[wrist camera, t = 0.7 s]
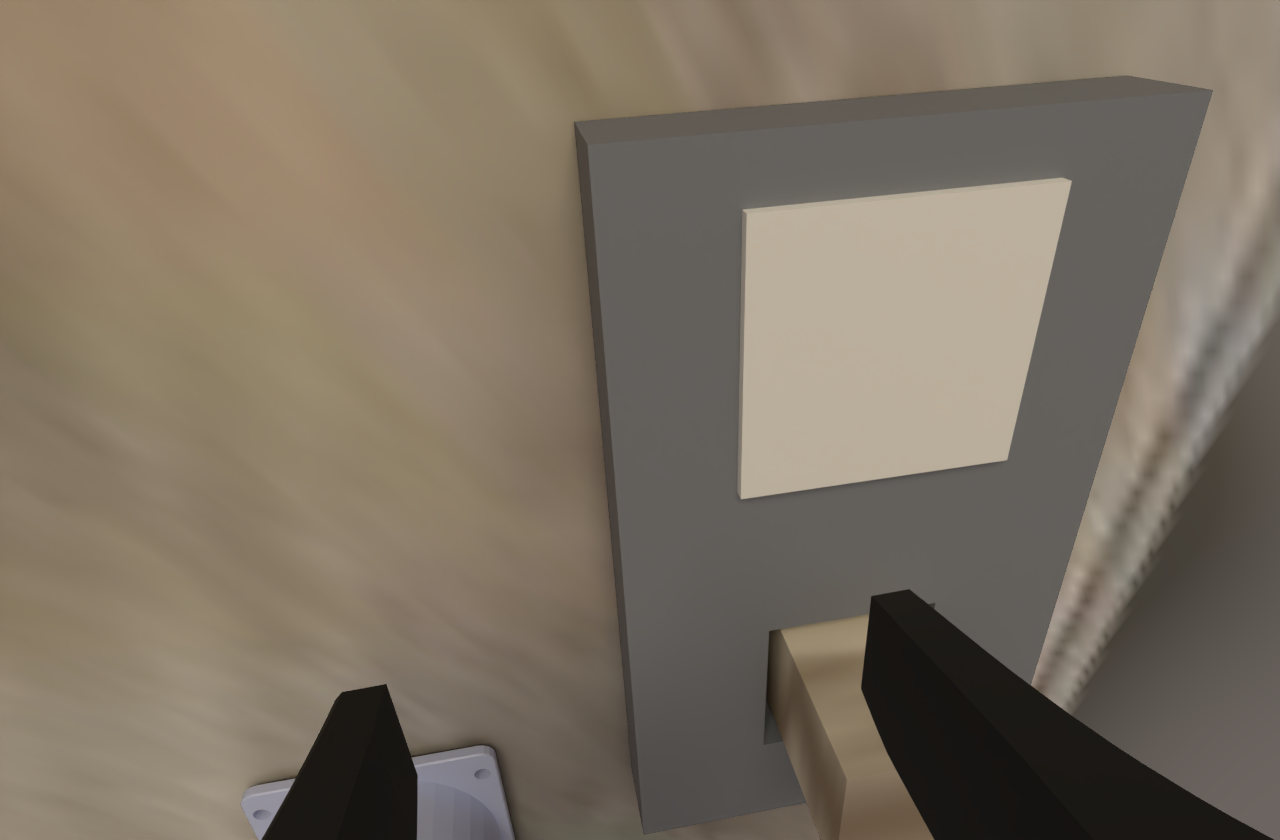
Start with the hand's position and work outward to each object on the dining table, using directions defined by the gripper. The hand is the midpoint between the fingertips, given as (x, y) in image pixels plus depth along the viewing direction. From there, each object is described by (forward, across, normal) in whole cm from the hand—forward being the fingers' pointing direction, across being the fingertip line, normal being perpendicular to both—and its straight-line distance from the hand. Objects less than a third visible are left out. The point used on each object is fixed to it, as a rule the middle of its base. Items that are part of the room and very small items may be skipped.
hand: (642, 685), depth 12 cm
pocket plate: (+10, -7, +5) cm, 13 cm away
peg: (+10, -7, +10) cm, 15 cm away
